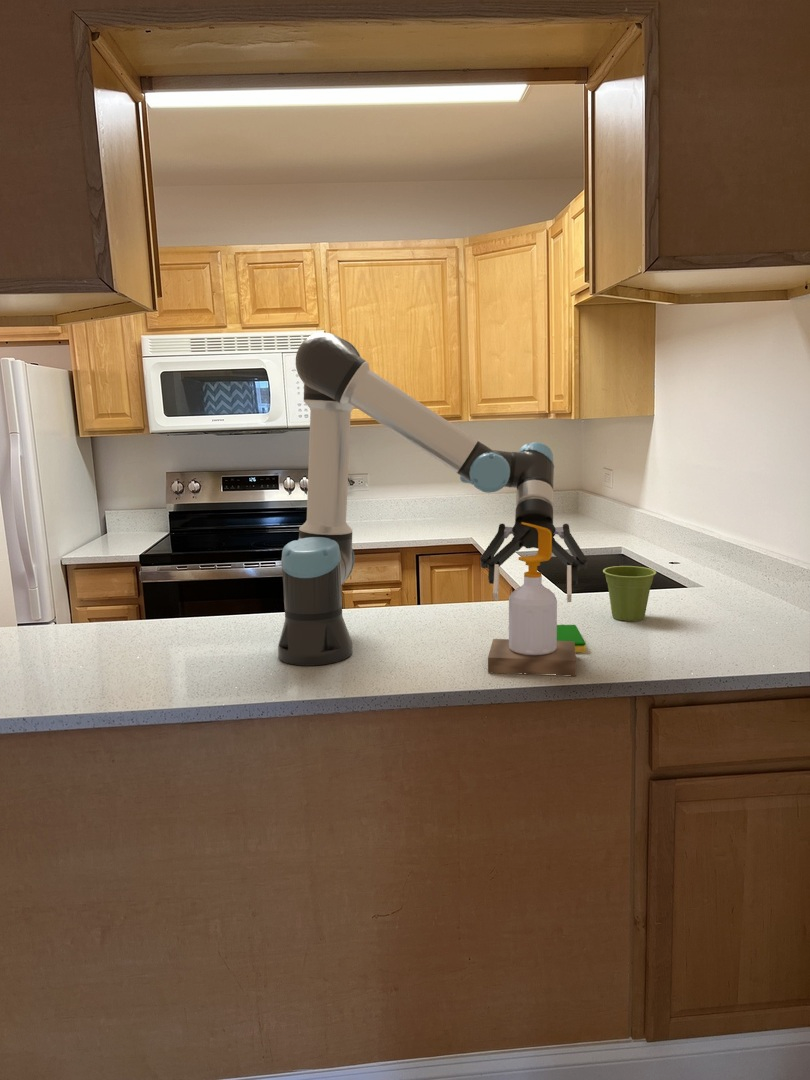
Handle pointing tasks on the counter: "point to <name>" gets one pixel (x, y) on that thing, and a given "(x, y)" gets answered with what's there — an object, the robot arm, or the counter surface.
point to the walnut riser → (532, 660)
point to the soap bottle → (534, 605)
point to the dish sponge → (571, 636)
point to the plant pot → (629, 591)
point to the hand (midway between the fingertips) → (532, 597)
